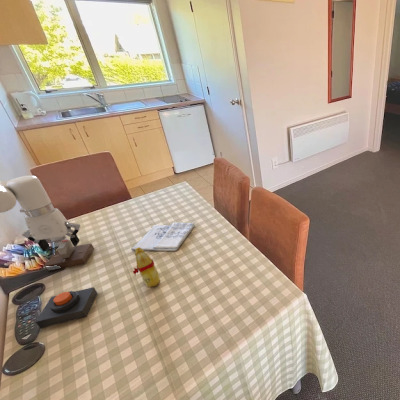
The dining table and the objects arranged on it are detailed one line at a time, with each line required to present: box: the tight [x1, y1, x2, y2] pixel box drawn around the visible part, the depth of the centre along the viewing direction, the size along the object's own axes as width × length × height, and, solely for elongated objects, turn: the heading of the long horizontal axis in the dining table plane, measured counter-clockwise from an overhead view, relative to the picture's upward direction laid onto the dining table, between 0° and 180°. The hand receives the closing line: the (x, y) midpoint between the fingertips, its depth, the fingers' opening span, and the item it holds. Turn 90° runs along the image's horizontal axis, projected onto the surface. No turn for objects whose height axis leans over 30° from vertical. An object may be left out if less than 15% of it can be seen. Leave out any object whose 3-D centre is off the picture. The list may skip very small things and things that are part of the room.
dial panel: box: [44, 242, 95, 272], centre depth 108 cm, size 12×10×3 cm
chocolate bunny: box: [132, 247, 161, 288], centre depth 95 cm, size 7×11×15 cm, turn 41°
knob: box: [56, 239, 74, 259], centre depth 106 cm, size 6×2×5 cm, turn 19°
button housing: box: [35, 286, 99, 329], centre depth 86 cm, size 12×10×5 cm
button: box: [53, 291, 72, 306], centre depth 85 cm, size 4×4×2 cm
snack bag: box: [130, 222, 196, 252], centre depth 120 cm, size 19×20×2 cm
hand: (61, 246), depth 104 cm, fingers open, 9 cm apart
